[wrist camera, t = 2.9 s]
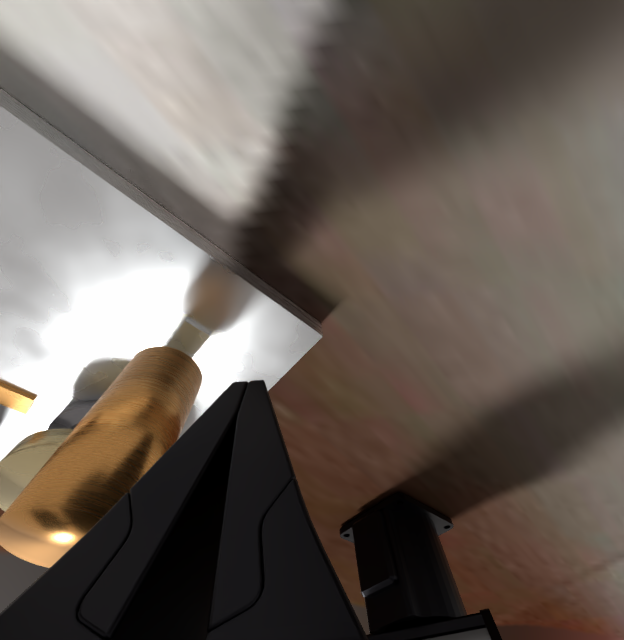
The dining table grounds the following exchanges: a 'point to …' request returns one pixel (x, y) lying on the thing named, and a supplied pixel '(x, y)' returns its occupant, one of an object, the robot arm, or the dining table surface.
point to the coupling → (94, 456)
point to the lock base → (115, 288)
